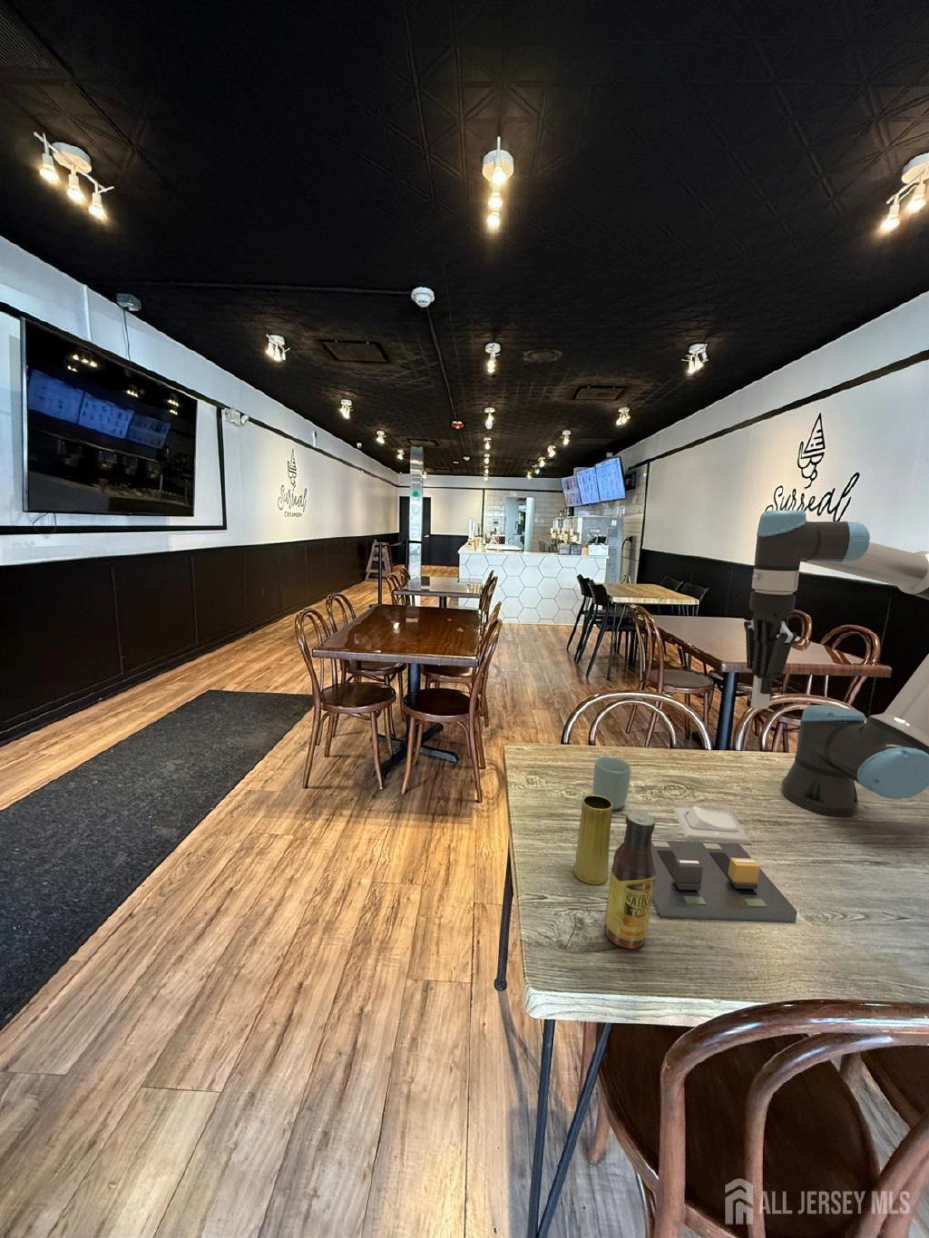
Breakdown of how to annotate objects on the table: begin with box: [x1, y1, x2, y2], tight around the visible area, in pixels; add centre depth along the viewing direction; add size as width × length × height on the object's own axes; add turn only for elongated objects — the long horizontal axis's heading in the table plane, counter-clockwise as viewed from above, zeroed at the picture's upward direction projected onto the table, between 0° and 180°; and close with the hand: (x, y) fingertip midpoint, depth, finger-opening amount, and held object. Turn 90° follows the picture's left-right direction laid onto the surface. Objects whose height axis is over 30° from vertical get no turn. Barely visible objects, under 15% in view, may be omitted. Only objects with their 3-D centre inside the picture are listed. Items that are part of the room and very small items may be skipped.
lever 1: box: [672, 859, 703, 890], centre depth 87 cm, size 4×3×4 cm
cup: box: [592, 756, 632, 811], centre depth 115 cm, size 8×8×10 cm
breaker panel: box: [651, 839, 798, 923], centre depth 91 cm, size 22×18×2 cm
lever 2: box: [727, 858, 761, 889], centre depth 88 cm, size 4×3×4 cm
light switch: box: [673, 805, 752, 845], centre depth 109 cm, size 11×4×13 cm
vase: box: [573, 794, 614, 885], centre depth 91 cm, size 6×6×14 cm
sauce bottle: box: [604, 810, 656, 950], centre depth 77 cm, size 7×6×20 cm
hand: (759, 707), depth 103 cm, fingers closed
